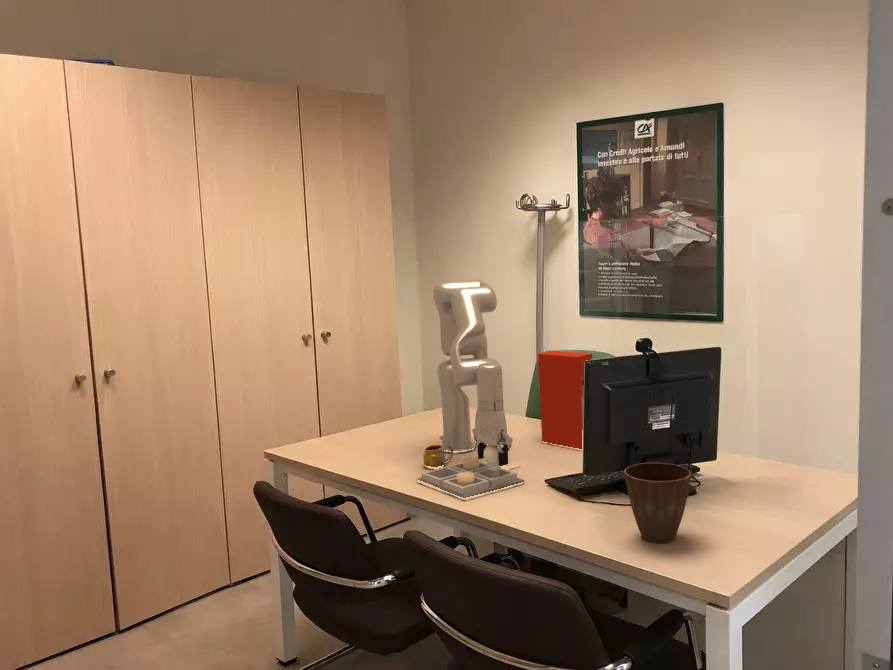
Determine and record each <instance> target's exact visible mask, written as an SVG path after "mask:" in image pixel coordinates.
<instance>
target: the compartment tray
mask: <svg viewBox="0 0 893 670" xmlns="http://www.w3.org/2000/svg"><path fill="white" fill-rule="evenodd" d="M490 473H491V472H490V469H489V466H488V464H486V462H482V461H480V459H478V457H475V456H469V457H465V458H462V462H460V463H455V464H452V465H449V466H444V467H443V468H439V469H435V470H432V469H431V470H428V471H425V472H421V474H420V476H421V477H419V478H417V479H418V480H420V481H423V482H425V483H428V484H431V485H433V486H435V487H438V488H440V489H442V490H444V491H447V492H449V493H452V494H455V495H457V496H460V497H463V498H466V497H470V496H474V495H478V494H482V493H486V492H490V491H494V490H497V489H501V488H504V487H507V486H510V485H514V484H518V483H521V482H524V483H525V479H522V478H519V477H518V473H517V472H515V471H512V470H506V469H502V468H500V470H499V476H500V477H496V478H491V475H490Z"/></svg>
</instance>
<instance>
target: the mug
mask: <svg viewBox="0 0 893 670" xmlns="http://www.w3.org/2000/svg"><path fill="white" fill-rule="evenodd" d="M447 447H449V448H450V450H451V453H449V456H448V457H447V458H446V453H445V452H444V450H445V449H446V448H447ZM453 456H454V453H453V448H452V447H451V446H449V445H446V446H444V447H442V444H437V445H436V444H432V445H429V446H427V447H425V448H424V453H423V465H424V466H425V465H426V466H431V467H438V466H442V465H444V464H445V465H446V463H445V462H446V461H448V460H449V461H451V460H452V458H453ZM449 461H448V462H449Z"/></svg>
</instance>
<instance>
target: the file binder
mask: <svg viewBox="0 0 893 670" xmlns="http://www.w3.org/2000/svg"><path fill="white" fill-rule="evenodd" d="M537 356H538V357H537V359H538V361H537V362H538V379H539V380H538V382H539V384H538V385H539V402H540V404H539V407H540V424H541V425H540V426H541V427H540V428H541V442H542V441H544V442H548V443H552V444H557V445H563V446H568V447H573V448H579V449H582V430H583V385H584V362H585V361H586V360H591V359H592V360H593V353H584V352H571V351H561V350H560V351H557V350H549V351H545V352H540V353H538V354H537Z"/></svg>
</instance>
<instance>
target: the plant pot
mask: <svg viewBox="0 0 893 670" xmlns="http://www.w3.org/2000/svg"><path fill="white" fill-rule="evenodd" d="M623 471H624V478H625V482H626V483H625V484H626V489H627V495H628V498H629V502H630V506H631V510H632V513H633V516H634V520H635V522H636V523H635V524H636V525H637V527H638V530H639V533H640V535H641V538H642V539H643V540H644V541H646V542H649V543H653V542H654V544H666V542H668V543H671V542H674V540H675V538H676V536H677V534H678V530H679V528H680V525H681V523H682V519H683V516H684V512H685V509H686V505H687V500H688V497H689V496H688V495H689V489H690V482H691V477H692V472H691V471H690V469H689V468H688V467H684V466H682V465H678V464H673V463H667V462H643V463H642V462H641V463H637V464H636V463H635V464H632V465H629V466H627V467H626V468H625V469H624V470H623ZM670 541H671V542H670Z"/></svg>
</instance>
